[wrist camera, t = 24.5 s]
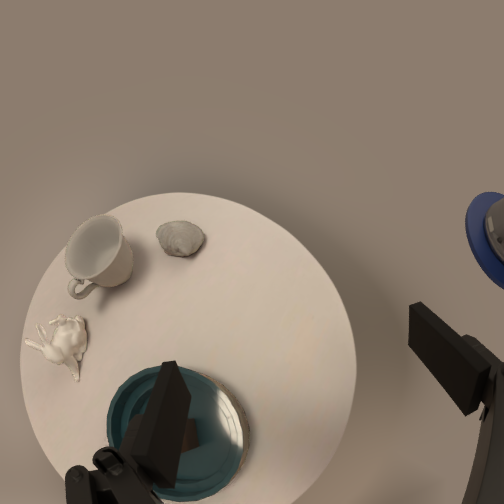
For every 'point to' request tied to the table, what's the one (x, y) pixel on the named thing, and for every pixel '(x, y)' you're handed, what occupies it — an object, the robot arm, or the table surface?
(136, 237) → the table surface
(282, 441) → the table surface
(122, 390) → the bowl
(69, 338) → the rabbit figurine
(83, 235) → the teacup
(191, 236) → the pebble
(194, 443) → the walnut block
